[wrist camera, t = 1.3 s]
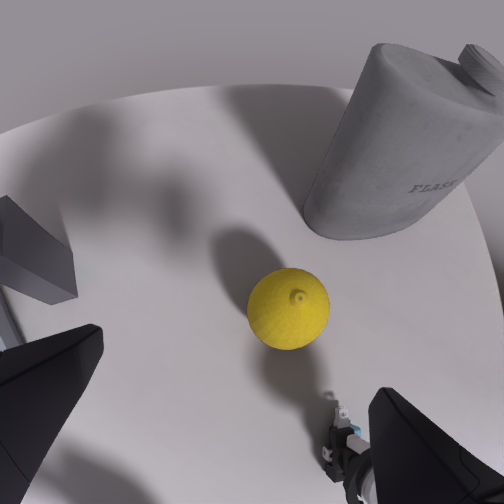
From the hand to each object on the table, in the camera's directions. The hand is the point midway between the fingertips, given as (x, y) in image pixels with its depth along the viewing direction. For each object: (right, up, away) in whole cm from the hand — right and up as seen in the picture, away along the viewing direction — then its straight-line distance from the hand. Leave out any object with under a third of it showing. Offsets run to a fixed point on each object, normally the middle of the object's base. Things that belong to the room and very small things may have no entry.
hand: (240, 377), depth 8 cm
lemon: (+2, -2, +16) cm, 16 cm away
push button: (+8, -12, +12) cm, 19 cm away
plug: (-17, +1, +15) cm, 23 cm away
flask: (+12, +8, +20) cm, 25 cm away
